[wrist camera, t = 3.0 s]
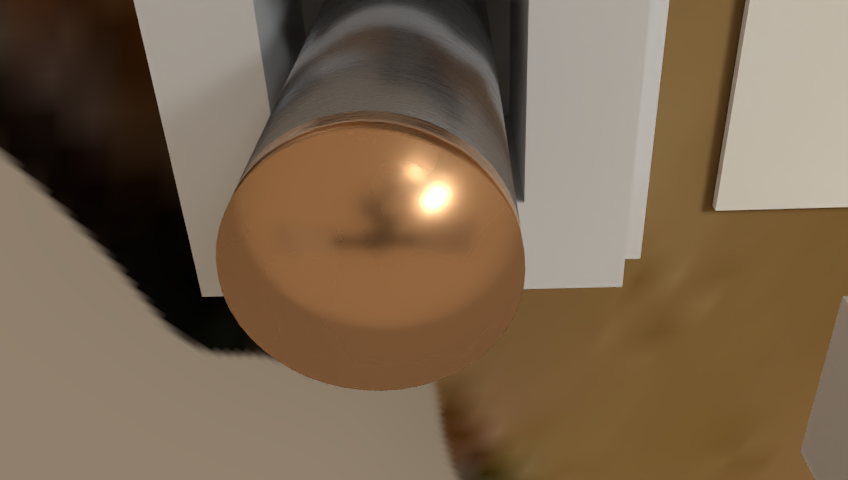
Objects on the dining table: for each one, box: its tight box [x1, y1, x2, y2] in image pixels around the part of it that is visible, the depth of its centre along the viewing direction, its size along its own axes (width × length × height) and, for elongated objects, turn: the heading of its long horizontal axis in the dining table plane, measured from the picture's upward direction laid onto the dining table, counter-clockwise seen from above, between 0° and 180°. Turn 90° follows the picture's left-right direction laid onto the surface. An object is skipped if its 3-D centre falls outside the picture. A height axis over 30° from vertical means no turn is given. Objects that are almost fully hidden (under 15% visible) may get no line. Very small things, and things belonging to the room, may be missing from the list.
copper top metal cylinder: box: [216, 0, 525, 391], centre depth 19 cm, size 5×5×14 cm
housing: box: [134, 0, 669, 297], centre depth 23 cm, size 18×16×8 cm
